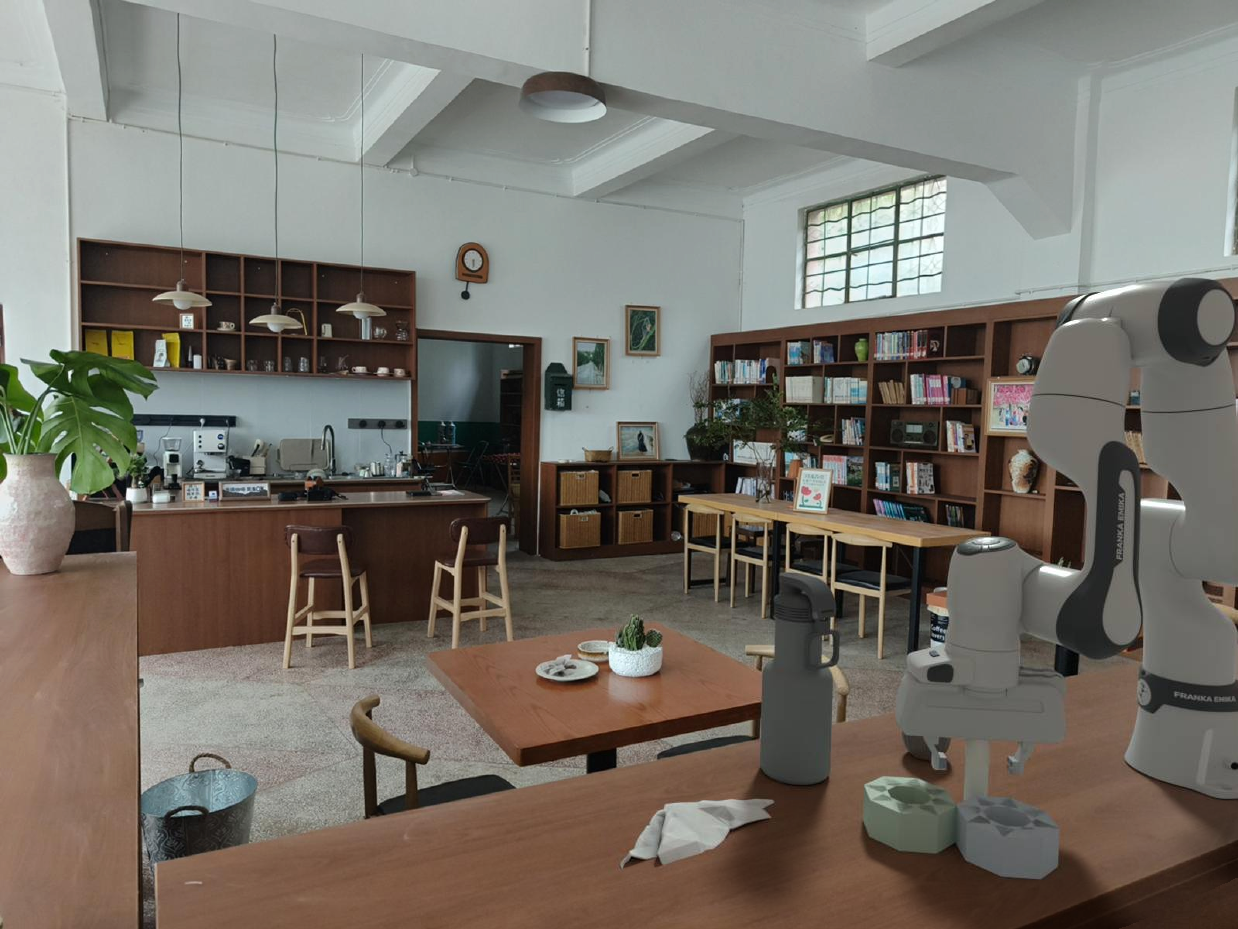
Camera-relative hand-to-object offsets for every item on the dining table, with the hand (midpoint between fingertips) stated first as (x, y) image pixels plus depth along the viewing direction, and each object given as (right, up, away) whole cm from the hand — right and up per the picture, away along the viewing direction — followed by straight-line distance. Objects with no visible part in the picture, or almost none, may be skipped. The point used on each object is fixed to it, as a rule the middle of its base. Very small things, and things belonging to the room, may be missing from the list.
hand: (976, 770), depth 106 cm
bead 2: (-1, -6, -11) cm, 12 cm away
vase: (0, -4, +17) cm, 18 cm away
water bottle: (-21, -4, +11) cm, 24 cm away
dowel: (0, -5, 0) cm, 5 cm away
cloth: (-36, -6, -5) cm, 37 cm away
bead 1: (-11, -5, -6) cm, 13 cm away
